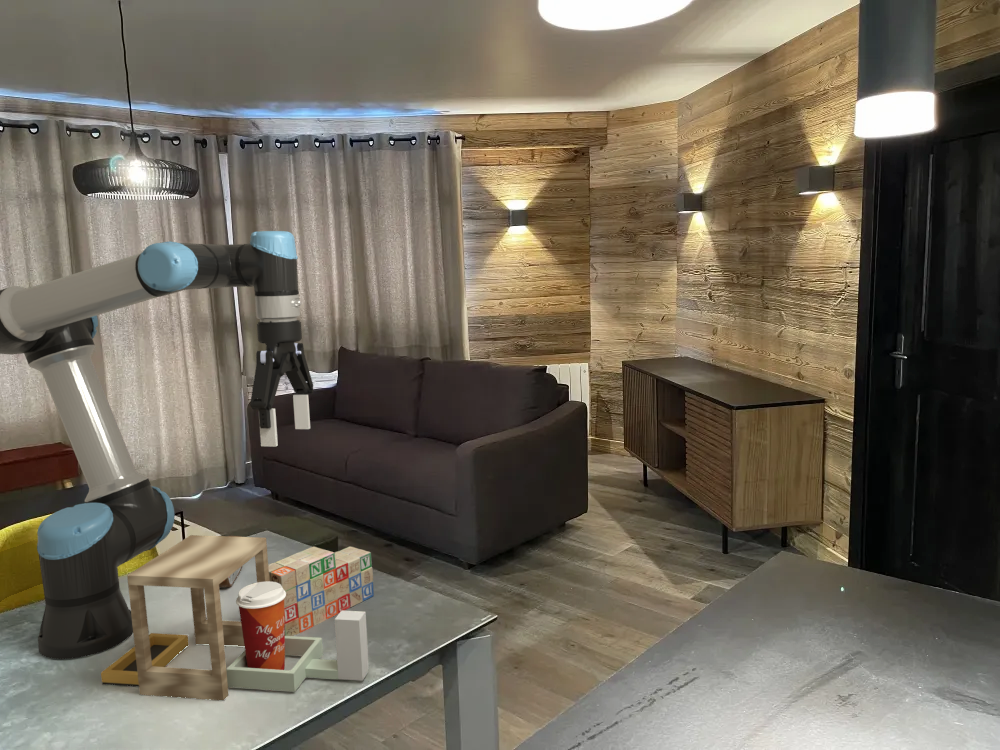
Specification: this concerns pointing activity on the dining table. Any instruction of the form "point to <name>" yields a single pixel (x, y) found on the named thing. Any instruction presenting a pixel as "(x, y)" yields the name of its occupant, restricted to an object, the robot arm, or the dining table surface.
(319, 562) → the stack of blocks
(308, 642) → the collar
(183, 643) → the pit trap
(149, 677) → the oak tunnel
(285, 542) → the dining table surface
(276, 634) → the paper cup
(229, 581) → the tin
